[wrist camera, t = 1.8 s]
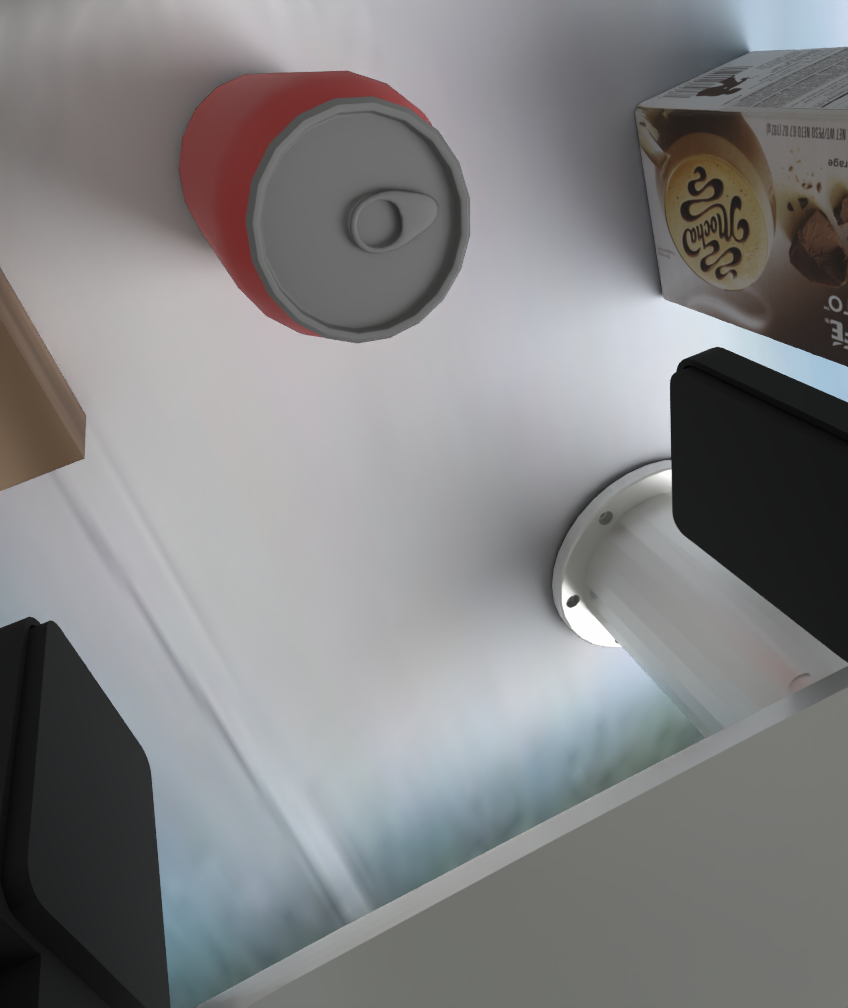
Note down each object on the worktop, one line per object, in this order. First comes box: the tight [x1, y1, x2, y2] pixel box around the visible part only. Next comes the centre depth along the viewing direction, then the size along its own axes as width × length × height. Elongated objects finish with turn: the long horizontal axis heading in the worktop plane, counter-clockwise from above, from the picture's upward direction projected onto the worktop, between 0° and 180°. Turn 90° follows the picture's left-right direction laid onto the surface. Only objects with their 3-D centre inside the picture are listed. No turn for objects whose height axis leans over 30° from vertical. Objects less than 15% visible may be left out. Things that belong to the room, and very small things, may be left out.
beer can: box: [179, 71, 470, 343], centre depth 22 cm, size 7×7×12 cm
